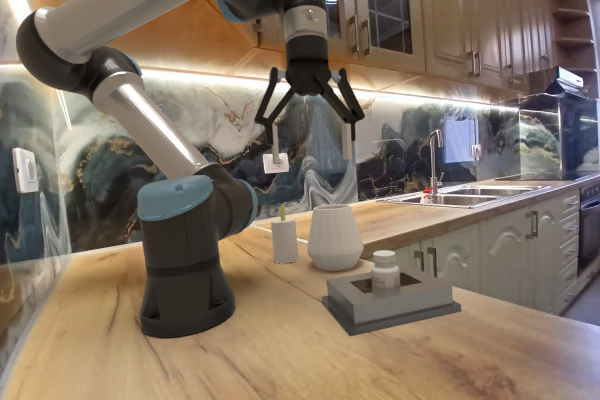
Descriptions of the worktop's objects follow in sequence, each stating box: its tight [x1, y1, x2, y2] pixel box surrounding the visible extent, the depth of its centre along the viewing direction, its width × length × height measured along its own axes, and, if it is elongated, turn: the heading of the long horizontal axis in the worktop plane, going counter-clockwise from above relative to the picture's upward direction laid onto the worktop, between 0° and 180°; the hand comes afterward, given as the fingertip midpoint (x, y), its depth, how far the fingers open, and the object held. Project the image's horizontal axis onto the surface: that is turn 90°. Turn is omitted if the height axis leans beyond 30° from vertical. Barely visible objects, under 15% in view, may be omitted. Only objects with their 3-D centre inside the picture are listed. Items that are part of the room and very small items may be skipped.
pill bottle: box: [370, 249, 400, 292], centre depth 51 cm, size 4×4×8 cm
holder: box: [321, 264, 462, 337], centre depth 51 cm, size 18×12×4 cm, turn 105°
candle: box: [270, 203, 299, 264], centre depth 82 cm, size 6×6×15 cm
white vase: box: [306, 203, 365, 272], centre depth 75 cm, size 13×13×14 cm
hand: (312, 161), depth 58 cm, fingers open, 13 cm apart
